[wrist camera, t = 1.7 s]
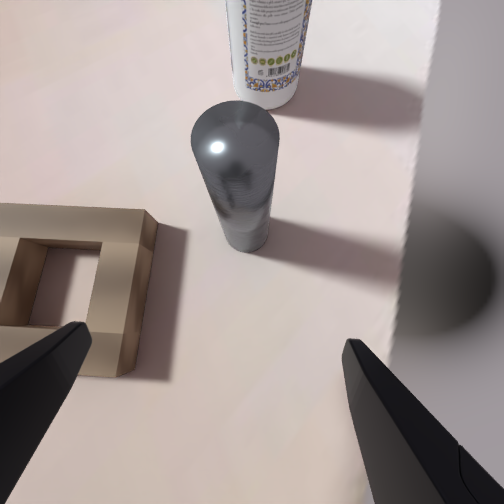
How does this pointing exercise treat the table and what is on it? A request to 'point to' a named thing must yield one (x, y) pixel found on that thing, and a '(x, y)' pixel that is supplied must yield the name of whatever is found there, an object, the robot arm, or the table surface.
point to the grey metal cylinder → (238, 168)
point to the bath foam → (266, 48)
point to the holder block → (105, 285)
